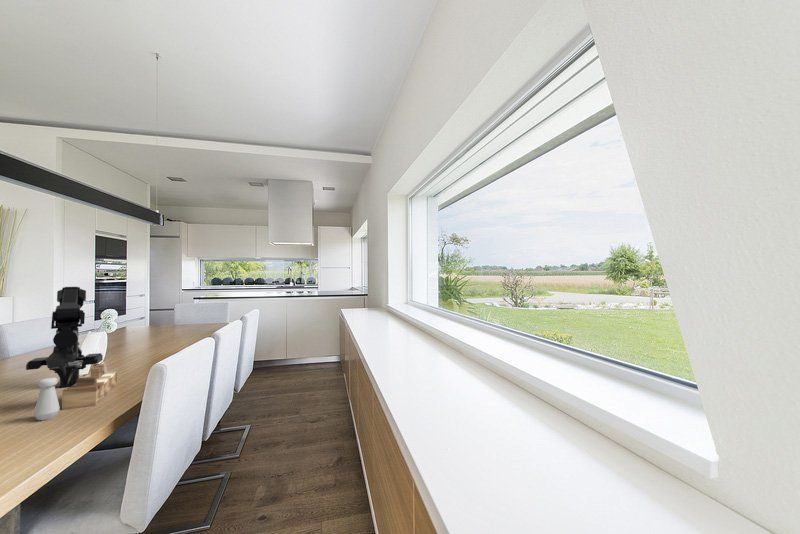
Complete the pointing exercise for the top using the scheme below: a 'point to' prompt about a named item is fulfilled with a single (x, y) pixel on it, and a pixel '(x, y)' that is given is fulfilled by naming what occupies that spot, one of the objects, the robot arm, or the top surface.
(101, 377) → the lid
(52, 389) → the salt shaker
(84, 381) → the block
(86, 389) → the toolbox
